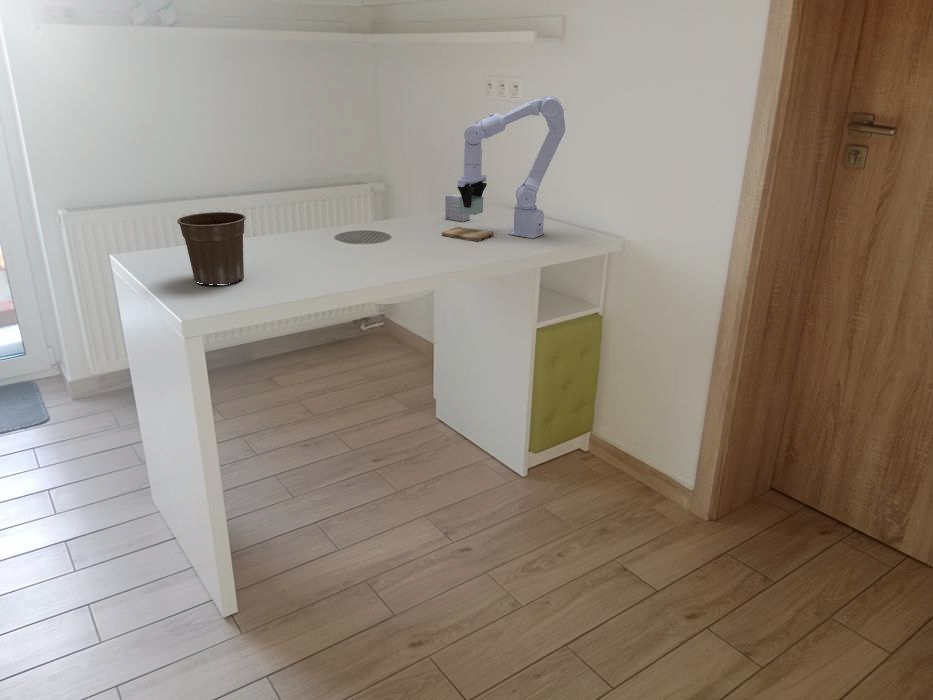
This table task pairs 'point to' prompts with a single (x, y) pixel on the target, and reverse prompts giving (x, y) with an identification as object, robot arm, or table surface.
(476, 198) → the pale teal rectangular block
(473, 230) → the thin wooden board
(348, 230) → the table surface
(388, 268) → the table surface
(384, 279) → the table surface
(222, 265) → the plant pot
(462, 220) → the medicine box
